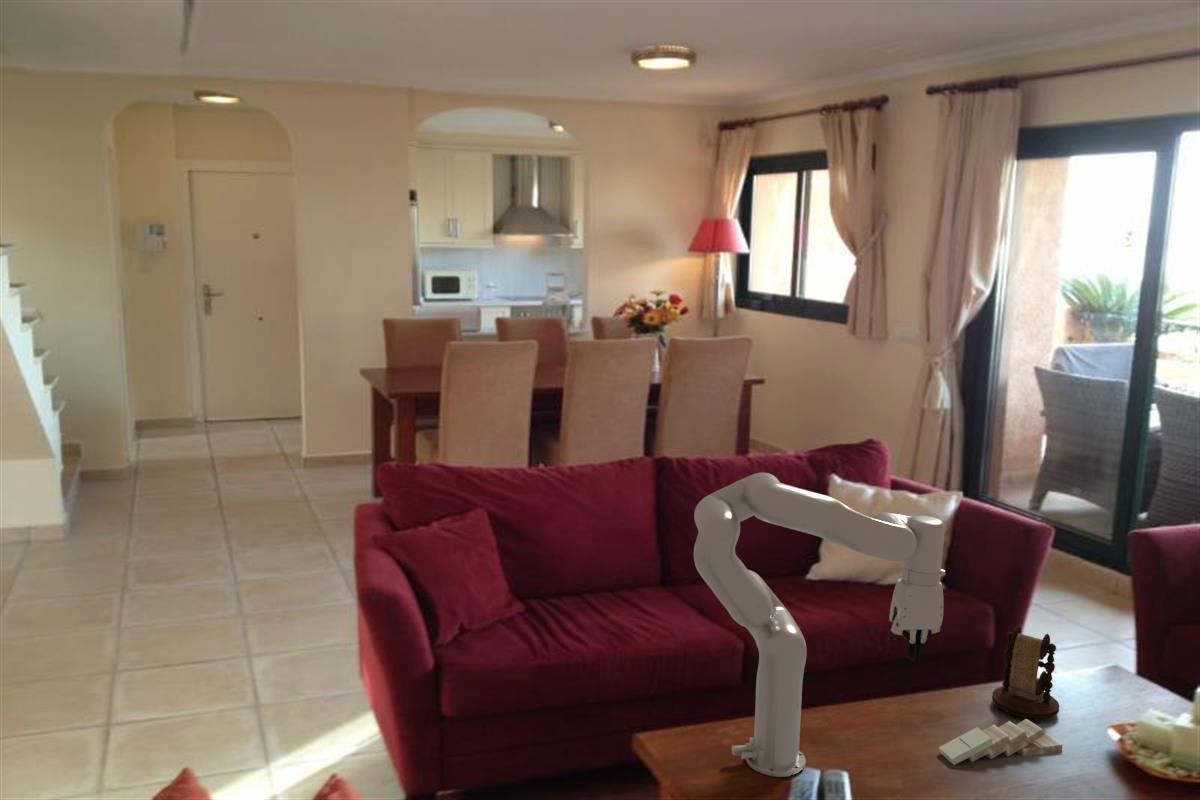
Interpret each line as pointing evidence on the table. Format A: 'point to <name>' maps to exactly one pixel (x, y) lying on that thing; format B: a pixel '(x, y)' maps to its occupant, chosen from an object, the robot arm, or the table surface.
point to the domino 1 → (965, 745)
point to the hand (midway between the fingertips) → (912, 658)
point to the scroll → (1027, 678)
